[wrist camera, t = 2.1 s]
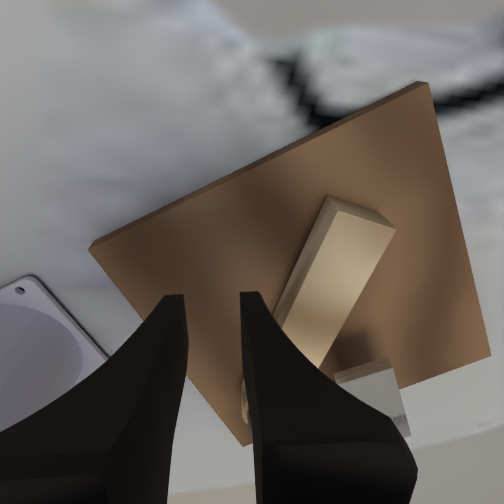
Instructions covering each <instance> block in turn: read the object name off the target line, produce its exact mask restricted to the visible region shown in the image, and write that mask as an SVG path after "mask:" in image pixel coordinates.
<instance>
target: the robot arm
mask: <svg viewBox="0 0 504 504" xmlns="http://www.w3.org/2000/svg"><path fill="white" fill-rule="evenodd" d="M19 287H22V288H23V289H24V290H25V291H23V290H21V289H19ZM240 322H241V350H242V368H243V375H244V382H245V388H246V395H247V401H248V408H249V414H250V421H251V428H252V437H253V452H254V469H255V486H256V503H257V504H409V503H410V499H411V497H412V493H413V490H414V487H415V484H416V481H417V473H418V468H417V465H416V463H415V460H414V458H413V455H412V453H411V451H410V449H409V447H408V445H407V443H406V441H405V440H404V438H403V437H402V435H401V433H400V432H399V430H398V429H397V427H396V425H395V424H394V422H393V421H392V419H391V418H390V417H389V416H387V415H385V414H384V413H382V412H380V411H378V410H377V409H375V408H373V407H371V406H370V405H368V404H366V403H364V402H363V401H361V400H359V399H358V398H356V397H355V396H353V395H352V394H350V393H349V392H347V391H346V390H344V389H343V388H342V387H340V386H339V385H338V384H336V383H335V382H334V381H333V380H331V379H330V378H329V377H328V376H326V375H325V374H324V373H323V372H321V371H320V370H319V369H318V368H317V367H316V366H315V365H314V364H313V363H312V362H311V361H310V360H309V359H308V358H307V357H306V356H305V355H304V354H303V353H302V352H301V351H300V350H299V349H298V348H297V347H296V346H295V344H294V343H293V342H292V341H291V340H290V338H289V337H288V336H287V335H286V334H285V332H284V331H283V330H282V328H281V327H280V325H279V324H278V323H277V321H276V320H275V318H274V317H273V315H272V314H271V312H270V310H269V309H268V307H267V305H266V304H265V302H264V300H263V298H262V295H261V293H259V292H258V291H247V292H240ZM188 350H189V338H188V329H187V320H186V311H185V302H184V294H174V295H165V296H164V297H163V298H162V299H161V300H160V301H159V303H158V304H157V305H156V307H155V308H154V309H153V310H152V312H151V313H150V314H149V315H148V317H147V318H146V319H145V320H144V322H143V323H142V324H141V325H140V326H139V327H138V329H137V330H136V331H135V332H134V333H133V334H132V335H131V336H130V338H129V339H128V340H127V341H126V342H125V343H124V344H123V345H122V346H121V347H120V348H119V349H118V350H117V351H116V352H115V353H114V354H113V355H112V356H111V357H110V358H109V359H108V358H107V357H106V356H105V355H104V353H103V352H102V351H101V350H100V349H99V348H98V347H97V346H96V345H95V343H94V342H93V341H92V340H91V339H90V338H89V337H88V336H87V335H86V333H85V332H84V331H83V330H82V329H81V328H80V327H79V326H78V325H77V323H76V322H75V321H74V320H73V319H72V318H71V317H70V316H69V315H68V313H67V312H66V311H65V310H64V309H63V308H62V307H61V306H60V305H59V303H58V302H57V301H56V300H55V299H54V298H53V297H52V296H51V295H50V293H49V292H48V291H47V290H46V289H45V288H44V287H43V286H42V285H41V283H40V282H39V281H38V280H37V279H35V278H34V277H31V276H26V277H23V278H21V279H19V280H17V281H15V282H13V283H11V284H9V285H7V286H5V287H3V288H1V289H0V504H167V496H168V485H169V474H170V465H171V455H172V445H173V438H174V432H175V427H176V422H177V417H178V412H179V407H180V402H181V397H182V392H183V387H184V382H185V377H186V372H187V363H188Z"/></svg>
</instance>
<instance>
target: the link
mask: <svg viewBox="0 0 504 504" xmlns="http://www.w3.org/2000/svg"><path fill="white" fill-rule="evenodd" d="M396 230H397V229H396V228H395V227H394V226H393V225H392V224H391V223H390V222H389V221H388V220H387V219H386V218H385V217H384V216H383V215H382V214H381V213H379V212H376V211H373V210H370V209H367V208H363V207H360V206H357V205H354V204H351V203H348V202H345V201H342V200H339V199H336V198H333V197H330V196H327V197H326V200H325V202H324V204H323V206H322V208H321V211H320V213H319V215H318V217H317V219H316V222H315V224H314V226H313V228H312V230H311V233H310V235H309V237H308V239H307V241H306V244H305V246H304V248H303V250H302V252H301V254H300V257H299V259H298V261H297V263H296V265H295V268H294V270H293V272H292V274H291V276H290V279H289V281H288V283H287V285H286V287H285V290H284V292H283V294H282V296H281V298H280V300H279V303H278V305H277V307H276V309H275V311H274V314H273V317H274V318H275V320H276V321H277V323H278V324H279V325H280V327H281V328H282V330H283V331H284V332H285V334H286V335H287V336H288V337H289V338H290V340H291V341H292V342H293V343H294V344H295V346H296V347H297V348H298V349H299V350H300V351H301V352H302V353H303V354H304V355H305V356H306V357H307V358H308V359H309V360H310V361H311V362H312V363H313V364H314V365H315V366H316V367H317V368H319V366H320V364H321V363H322V361H323V359H324V357H325V356H326V354H327V352H328V350H329V349H330V347H331V345H332V343H333V341H334V340H335V338H336V336H337V334H338V333H339V331H340V329H341V327H342V325H343V324H344V322H345V320H346V318H347V317H348V315H349V313H350V311H351V309H352V308H353V306H354V304H355V302H356V301H357V299H358V297H359V295H360V294H361V292H362V290H363V288H364V286H365V285H366V283H367V281H368V279H369V278H370V276H371V274H372V272H373V270H374V269H375V267H376V265H377V263H378V262H379V260H380V258H381V256H382V255H383V253H384V251H385V249H386V247H387V246H388V244H389V242H390V240H391V239H392V237H393V235H394V233H395V231H396ZM241 399H242V417H243V420H244V421H245V422H246V423H247V424H248V432H249V434H250V435H251V436H252V428H251V421H250V414H249V408H248V401H247V395H246V388H245V382H244V379H243V382H242V384H241Z"/></svg>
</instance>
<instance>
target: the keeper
mask: <svg viewBox="0 0 504 504" xmlns="http://www.w3.org/2000/svg"><path fill="white" fill-rule="evenodd" d="M334 377H335V380H336V383H337V384H338V385H339V386H340V387H342V388H343V389H344V390H346V391H347V392H349V393H350V394H352V395H353V396H355V397H356V398H358V399H359V400H361V401H363V402H364V403H366V404H368V405H370V406H371V407H373V408H375V409H377V410H378V411H380V412H382V413H384V414H385V415H387V416H389V417H390V418H391V419H392V421H393V422H394V424H395V425H396V427H397V429H398V430H399V432H400V433H401V435H402V437H403V438H404V437H407V436H411V433H410V429H409V425H408V422H407V418H406V414H405V410H404V407H403V403H402V399H401V396H400V392H399V388H398V384H397V381H396V377H395V373H394V370H393V367H392V365H391V363H390V361H389V359H388V357H385V358H382V359H379V360H375V361H372V362H369V363H366V364H363V365H359V366H356V367H353V368H350V369H347V370H343V371H340V372H337V373H334Z"/></svg>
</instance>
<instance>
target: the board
mask: <svg viewBox="0 0 504 504" xmlns="http://www.w3.org/2000/svg"><path fill="white" fill-rule="evenodd" d="M327 196H330V197H333V198H336V199H339V200H342V201H345V202H348V203H351V204H354V205H357V206H360V207H363V208H367V209H370V210H373V211H376V212H379V213H381V214H382V215H383V216H384V217H385V218H386V219H387V220H388V221H389V222H390V223H391V224H392V225H393V226H394V227H395V228H396V229H397V230H396V231H395V233H394V235H393V237H392V239H391V240H390V242H389V244H388V246H387V247H386V249H385V251H384V253H383V255H382V256H381V258H380V260H379V262H378V263H377V265H376V267H375V269H374V270H373V272H372V274H371V276H370V278H369V279H368V281H367V283H366V285H365V286H364V288H363V290H362V292H361V294H360V295H359V297H358V299H357V301H356V302H355V304H354V306H353V308H352V309H351V311H350V313H349V315H348V317H347V318H346V320H345V322H344V324H343V325H342V327H341V329H340V331H339V333H338V334H337V336H336V338H335V340H334V341H333V343H332V345H331V347H330V349H329V350H328V352H327V354H326V356H325V357H324V359H323V361H322V363H321V364H320V366H319V368H318V369H319V370H320V371H321V372H323V373H324V374H325V375H326V376H328V377H329V378H330V379H331V380H333V381H334V382H335V383H336V380H335V377H334V373H337V372H340V371H343V370H347V369H350V368H353V367H356V366H359V365H363V364H366V363H369V362H372V361H375V360H379V359H382V358H385V357H388V359H389V361H390V363H391V365H392V367H393V370H394V373H395V377H396V381H397V384H398V388H399V389H402V388H405V387H407V386H410V385H413V384H416V383H418V382H421V381H424V380H427V379H429V378H432V377H435V376H437V375H440V374H443V373H446V372H448V371H451V370H454V369H457V368H459V367H462V366H465V365H467V364H470V363H473V362H476V361H478V360H481V359H484V358H487V357H489V356H491V352H490V348H489V343H488V339H487V335H486V330H485V326H484V322H483V317H482V313H481V309H480V304H479V300H478V296H477V291H476V287H475V283H474V278H473V274H472V270H471V265H470V261H469V257H468V252H467V248H466V244H465V239H464V235H463V231H462V227H461V222H460V218H459V214H458V209H457V205H456V201H455V196H454V192H453V188H452V183H451V179H450V175H449V170H448V166H447V162H446V157H445V153H444V149H443V144H442V140H441V136H440V131H439V127H438V123H437V118H436V114H435V110H434V105H433V101H432V97H431V92H430V88H429V84H428V83H427V82H419V81H418V82H416V83H414V84H412V85H410V86H408V87H406V88H404V89H402V90H399V91H397V92H395V93H393V94H391V95H389V96H387V97H385V98H383V99H381V100H379V101H377V102H375V103H373V104H371V105H369V106H367V107H365V108H363V109H361V110H359V111H357V112H355V113H353V114H351V115H349V116H347V117H345V118H343V119H341V120H339V121H337V122H335V123H333V124H331V125H329V126H326V127H324V128H322V129H320V130H318V131H316V132H314V133H312V134H310V135H308V136H306V137H304V138H302V139H300V140H298V141H296V142H294V143H292V144H290V145H288V146H286V147H284V148H282V149H280V150H278V151H276V152H274V153H272V154H270V155H268V156H266V157H264V158H262V159H260V160H258V161H256V162H253V163H251V164H249V165H247V166H245V167H243V168H241V169H239V170H237V171H235V172H233V173H231V174H229V175H227V176H225V177H223V178H221V179H219V180H217V181H215V182H213V183H211V184H209V185H207V186H205V187H203V188H201V189H199V190H197V191H195V192H193V193H191V194H189V195H187V196H185V197H183V198H180V199H178V200H176V201H174V202H172V203H170V204H168V205H166V206H164V207H162V208H160V209H158V210H156V211H154V212H152V213H150V214H148V215H146V216H144V217H142V218H140V219H138V220H136V221H134V222H132V223H130V224H128V225H126V226H124V227H122V228H120V229H118V230H116V231H114V232H112V233H110V234H107V235H105V236H103V237H101V238H99V239H97V240H95V241H94V242H93V243H92V245H91V246H90V247H89V249H88V251H89V252H90V253H91V254H92V256H93V257H94V258H95V259H96V261H97V262H98V263H99V265H100V266H101V267H102V268H103V270H104V271H105V272H106V273H107V275H108V276H109V277H110V279H111V280H112V281H113V282H114V284H115V285H116V286H117V287H118V289H119V290H120V291H121V293H122V294H123V295H124V296H125V298H126V299H127V300H128V301H129V303H130V304H131V305H132V307H133V308H134V309H135V310H136V312H137V313H138V314H139V315H140V317H141V318H142V319H143V321H144V320H145V319H146V318H147V317H148V315H149V314H150V313H151V312H152V310H153V309H154V308H155V307H156V305H157V304H158V303H159V301H160V300H161V299H162V298H163V297H164V296H165V295H174V294H184V302H185V311H186V320H187V329H188V338H189V350H188V363H187V372H186V375H187V376H188V378H189V379H190V380H191V382H192V383H193V384H194V385H195V387H196V388H197V389H198V390H199V392H200V393H201V394H202V396H203V397H204V398H205V399H206V401H207V402H208V403H209V404H210V406H211V407H212V408H213V410H214V411H215V412H216V413H217V415H218V416H219V417H220V418H221V420H222V421H223V422H224V424H225V425H226V426H227V427H228V429H229V430H230V431H231V432H232V434H233V435H234V436H235V438H236V439H237V440H238V441H239V443H240V444H241V445H242V446H243V447H244V446H247V445H249V444H252V443H253V437H252V436H251V435H250V434H249V432H248V424H247V423H246V422H245V421H244V420H243V417H242V399H241V384H242V382H243V379H244V375H243V368H242V350H241V322H240V292H247V291H258V292H259V293H261V295H262V298H263V300H264V302H265V304H266V305H267V307H268V309H269V310H270V312H271V314H272V315H273V314H274V311H275V309H276V307H277V305H278V303H279V300H280V298H281V296H282V294H283V292H284V290H285V287H286V285H287V283H288V281H289V279H290V276H291V274H292V272H293V270H294V268H295V265H296V263H297V261H298V259H299V257H300V254H301V252H302V250H303V248H304V246H305V244H306V241H307V239H308V237H309V235H310V233H311V230H312V228H313V226H314V224H315V222H316V219H317V217H318V215H319V213H320V211H321V208H322V206H323V204H324V202H325V200H326V197H327ZM336 384H337V383H336Z"/></svg>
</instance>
